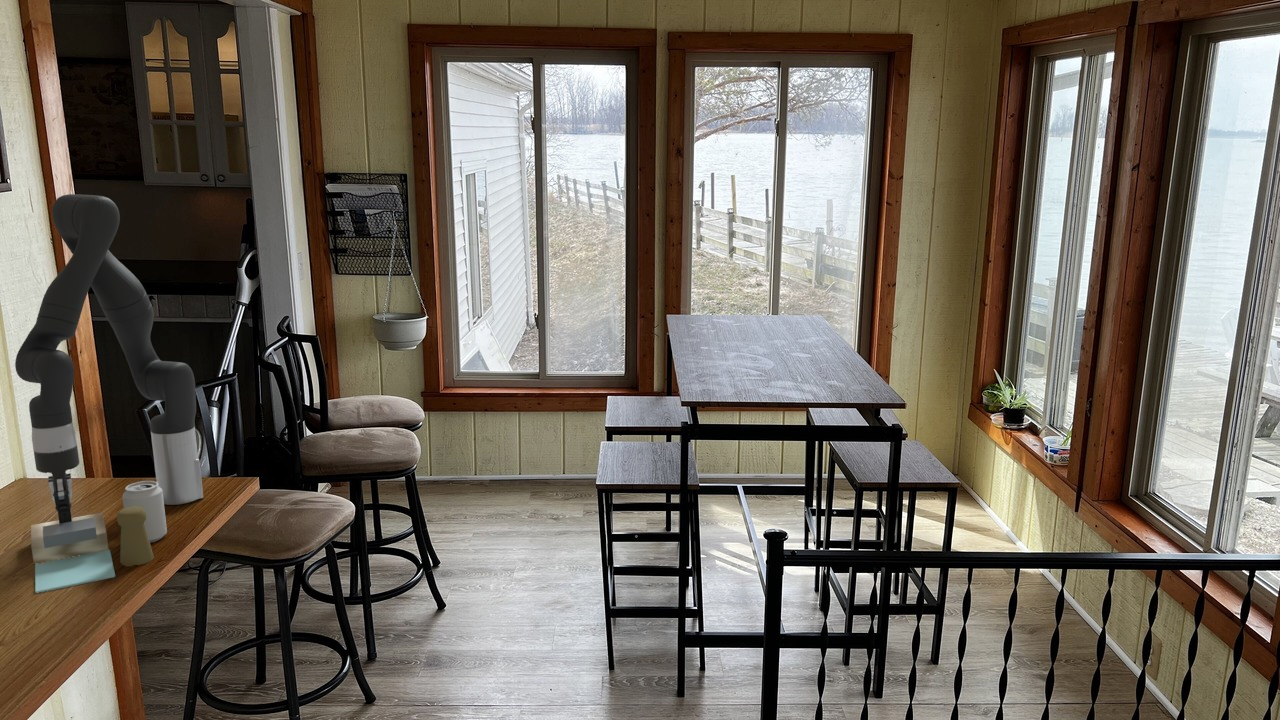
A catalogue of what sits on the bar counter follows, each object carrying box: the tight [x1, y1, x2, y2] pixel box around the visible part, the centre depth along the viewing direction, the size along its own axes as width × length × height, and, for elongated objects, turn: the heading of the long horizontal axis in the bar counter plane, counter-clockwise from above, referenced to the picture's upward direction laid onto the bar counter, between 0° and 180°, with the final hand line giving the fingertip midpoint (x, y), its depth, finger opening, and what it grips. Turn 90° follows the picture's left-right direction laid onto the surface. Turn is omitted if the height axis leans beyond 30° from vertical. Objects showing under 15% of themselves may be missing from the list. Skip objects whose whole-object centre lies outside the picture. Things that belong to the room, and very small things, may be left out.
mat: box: [34, 549, 116, 594], centre depth 182 cm, size 13×14×1 cm
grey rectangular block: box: [43, 518, 97, 548], centre depth 188 cm, size 9×6×2 cm, turn 122°
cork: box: [116, 506, 155, 567], centre depth 186 cm, size 6×6×11 cm
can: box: [122, 480, 168, 544], centre depth 197 cm, size 8×8×12 cm
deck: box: [30, 512, 110, 565], centre depth 193 cm, size 13×13×4 cm
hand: (66, 525), depth 191 cm, fingers closed
